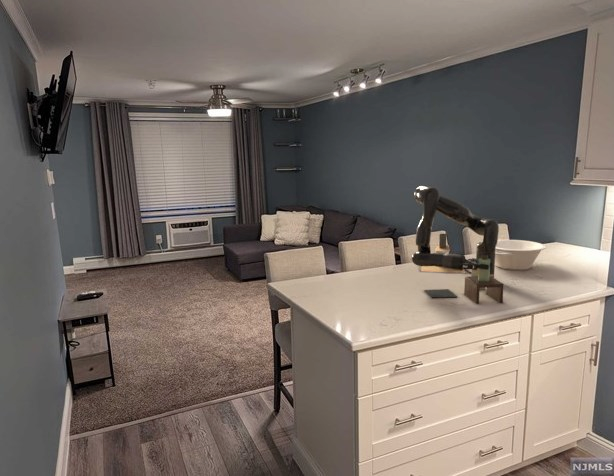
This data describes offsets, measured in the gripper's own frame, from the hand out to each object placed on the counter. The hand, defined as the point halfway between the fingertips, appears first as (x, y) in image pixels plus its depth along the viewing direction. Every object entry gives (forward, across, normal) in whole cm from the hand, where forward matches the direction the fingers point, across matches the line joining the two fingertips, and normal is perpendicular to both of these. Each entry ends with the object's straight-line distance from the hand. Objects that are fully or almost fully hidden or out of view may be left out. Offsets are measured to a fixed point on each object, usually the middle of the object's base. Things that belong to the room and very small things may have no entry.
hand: (490, 266), depth 195 cm
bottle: (-3, 0, +7) cm, 7 cm away
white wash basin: (-6, +71, +16) cm, 73 cm away
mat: (-21, -4, +16) cm, 27 cm away
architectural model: (-43, +55, +16) cm, 72 cm away
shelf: (-3, 0, +16) cm, 16 cm away
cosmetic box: (-10, +16, +16) cm, 25 cm away
